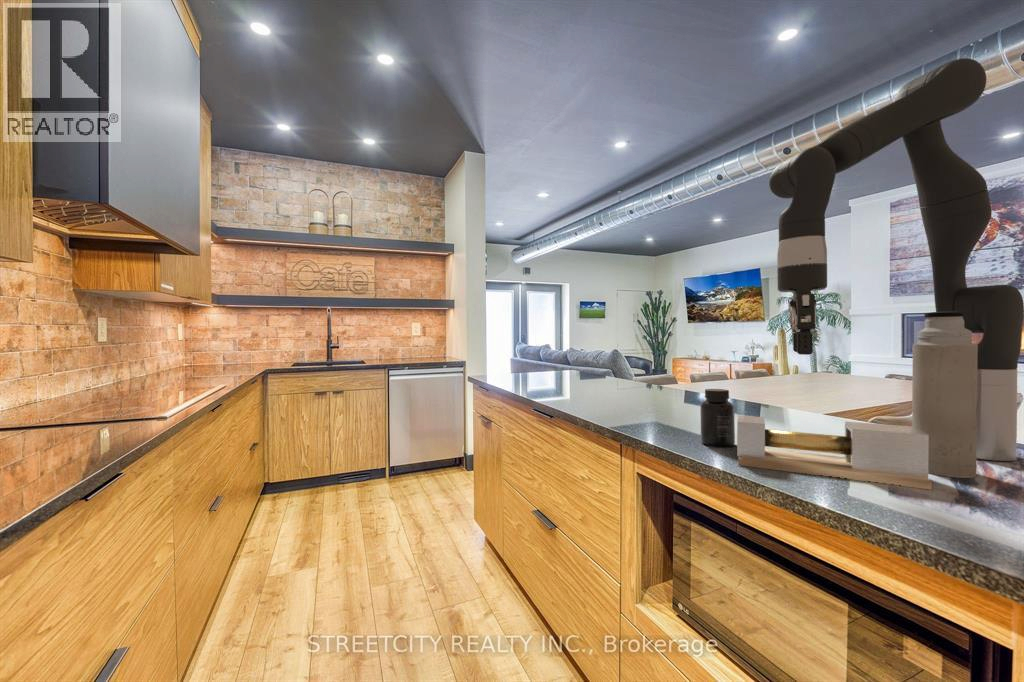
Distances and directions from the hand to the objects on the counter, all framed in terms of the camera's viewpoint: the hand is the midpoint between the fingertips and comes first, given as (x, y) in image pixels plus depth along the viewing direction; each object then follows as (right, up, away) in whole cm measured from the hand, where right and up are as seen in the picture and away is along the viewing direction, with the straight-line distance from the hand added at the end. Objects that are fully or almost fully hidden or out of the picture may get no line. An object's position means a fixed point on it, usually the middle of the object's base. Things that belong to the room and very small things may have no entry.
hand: (802, 353), depth 78 cm
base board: (+3, -21, -1) cm, 21 cm away
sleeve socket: (+3, -20, -1) cm, 20 cm away
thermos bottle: (+23, -21, -3) cm, 31 cm away
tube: (0, -18, 0) cm, 18 cm away
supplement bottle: (-8, -21, +16) cm, 28 cm away
